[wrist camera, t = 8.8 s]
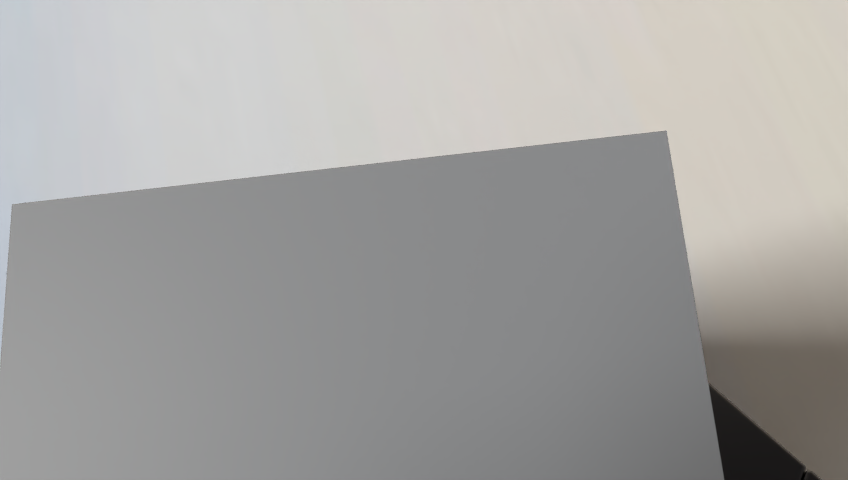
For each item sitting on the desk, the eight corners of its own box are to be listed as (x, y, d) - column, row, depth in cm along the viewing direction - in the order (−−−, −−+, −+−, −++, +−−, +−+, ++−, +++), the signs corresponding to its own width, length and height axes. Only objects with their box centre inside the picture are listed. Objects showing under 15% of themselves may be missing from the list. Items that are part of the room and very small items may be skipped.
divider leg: (571, 515, 14) (810, 1003, 3) (389, 524, 15) (-47, 985, 3) (550, 328, 15) (666, 130, 4) (378, 343, 16) (12, 205, 4)
